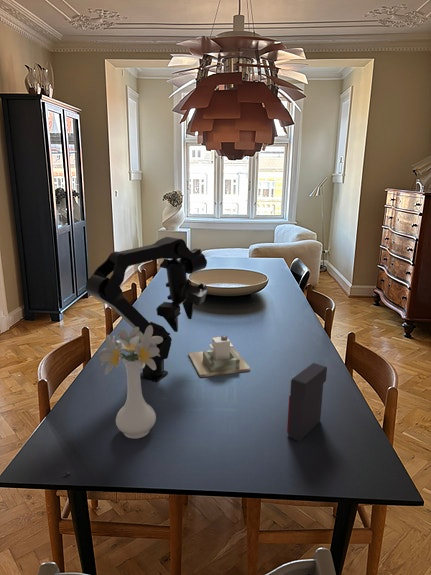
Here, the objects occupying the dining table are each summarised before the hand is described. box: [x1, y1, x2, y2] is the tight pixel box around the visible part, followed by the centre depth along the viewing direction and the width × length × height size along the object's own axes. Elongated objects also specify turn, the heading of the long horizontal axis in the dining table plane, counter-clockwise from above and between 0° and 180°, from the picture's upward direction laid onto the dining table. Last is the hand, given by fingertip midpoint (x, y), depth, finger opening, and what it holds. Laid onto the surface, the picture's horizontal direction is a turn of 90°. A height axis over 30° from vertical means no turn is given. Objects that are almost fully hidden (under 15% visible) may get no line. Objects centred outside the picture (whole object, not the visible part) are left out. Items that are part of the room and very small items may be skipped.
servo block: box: [208, 335, 234, 361], centre depth 129 cm, size 7×4×9 cm, turn 106°
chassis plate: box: [188, 347, 251, 378], centre depth 133 cm, size 16×16×4 cm
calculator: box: [286, 362, 328, 442], centre depth 97 cm, size 11×4×15 cm, turn 141°
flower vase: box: [97, 325, 163, 440], centre depth 95 cm, size 13×18×25 cm
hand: (183, 325), depth 130 cm, fingers open, 9 cm apart
